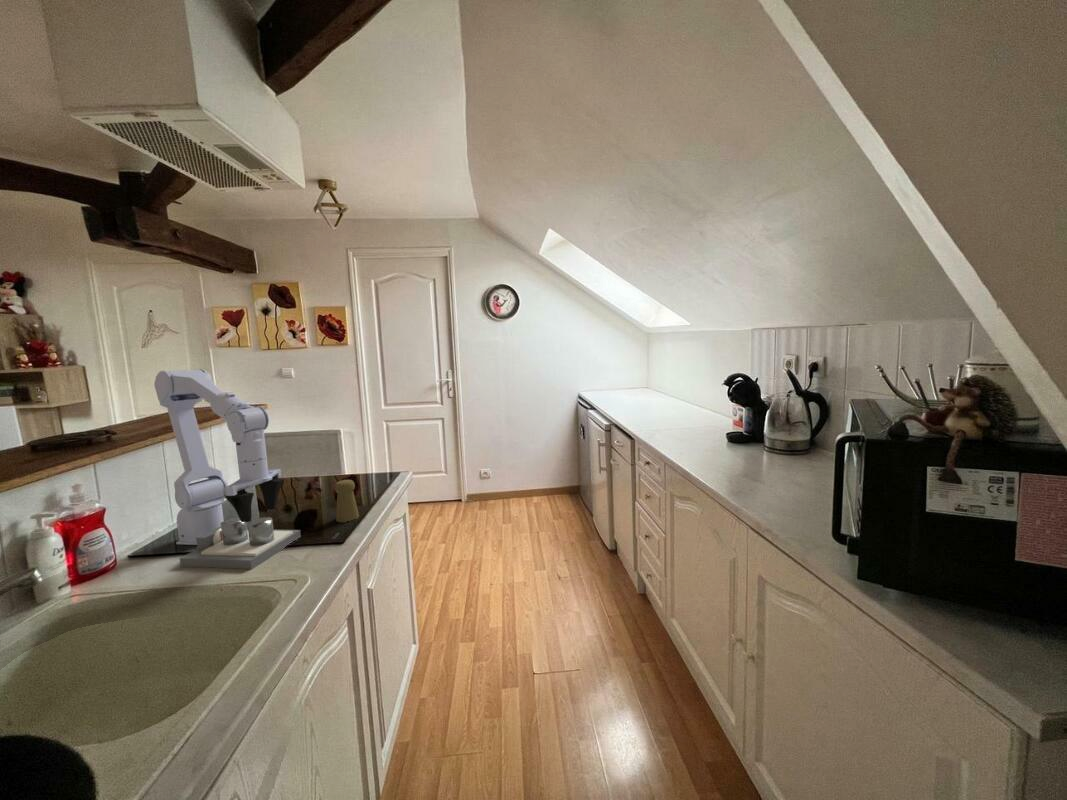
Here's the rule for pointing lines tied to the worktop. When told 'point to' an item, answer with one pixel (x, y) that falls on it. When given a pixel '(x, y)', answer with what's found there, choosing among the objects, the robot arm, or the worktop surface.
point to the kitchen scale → (235, 550)
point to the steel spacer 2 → (260, 531)
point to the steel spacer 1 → (234, 531)
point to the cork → (346, 501)
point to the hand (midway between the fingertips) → (258, 515)
